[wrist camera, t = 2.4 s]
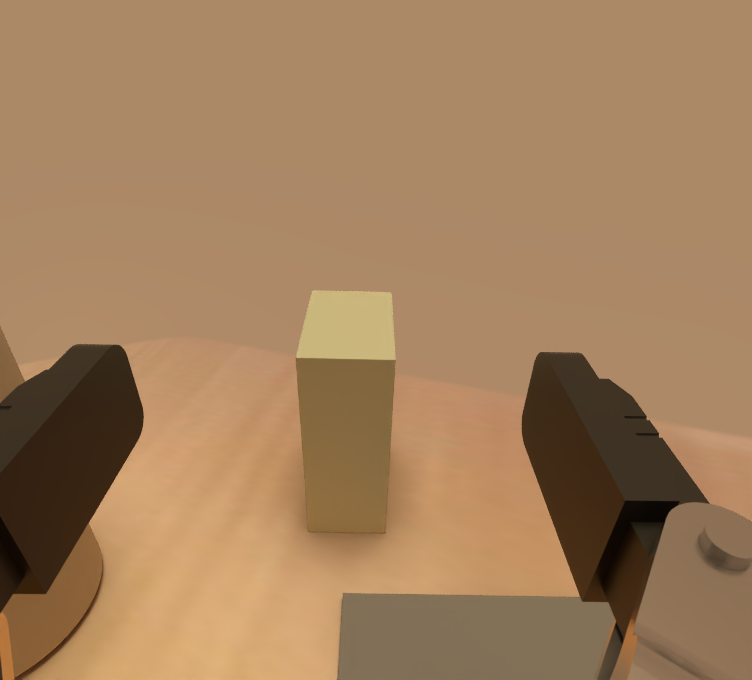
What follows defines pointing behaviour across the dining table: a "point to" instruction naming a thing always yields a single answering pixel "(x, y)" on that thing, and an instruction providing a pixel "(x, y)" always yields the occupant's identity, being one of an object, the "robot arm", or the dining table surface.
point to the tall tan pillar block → (346, 409)
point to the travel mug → (70, 588)
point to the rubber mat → (471, 637)
